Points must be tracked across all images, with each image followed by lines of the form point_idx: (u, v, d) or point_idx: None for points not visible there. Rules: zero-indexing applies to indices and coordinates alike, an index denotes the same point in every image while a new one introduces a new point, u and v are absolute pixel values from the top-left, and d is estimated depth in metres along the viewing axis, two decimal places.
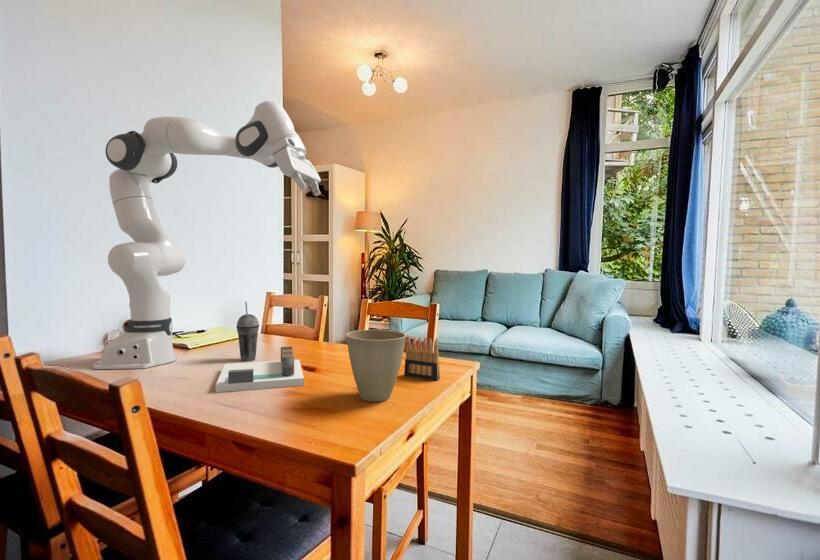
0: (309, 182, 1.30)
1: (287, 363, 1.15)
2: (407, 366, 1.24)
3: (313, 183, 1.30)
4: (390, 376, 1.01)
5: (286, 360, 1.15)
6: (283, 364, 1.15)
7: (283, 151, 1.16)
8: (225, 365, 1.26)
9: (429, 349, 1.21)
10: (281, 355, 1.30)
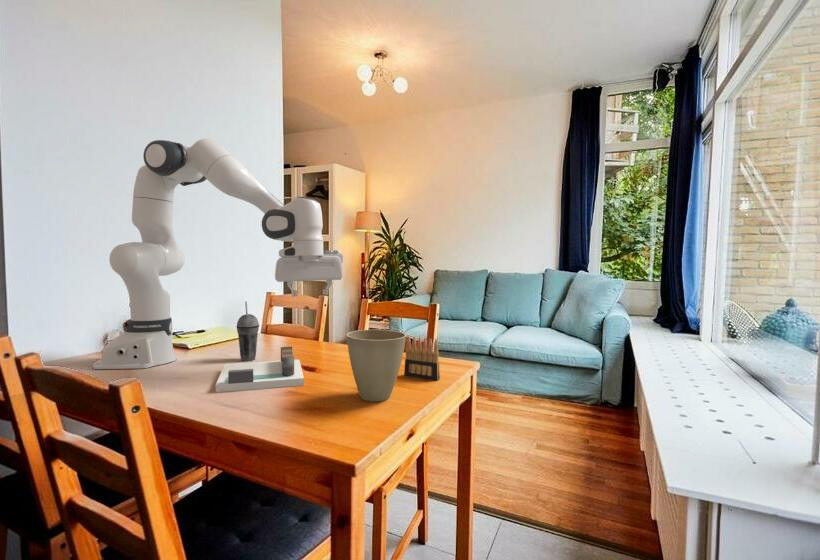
0: None
1: (287, 363, 1.15)
2: (407, 366, 1.24)
3: (326, 282, 1.30)
4: (390, 376, 1.01)
5: (286, 360, 1.15)
6: (283, 364, 1.15)
7: (277, 262, 1.24)
8: (225, 365, 1.26)
9: (429, 349, 1.21)
10: (281, 355, 1.30)
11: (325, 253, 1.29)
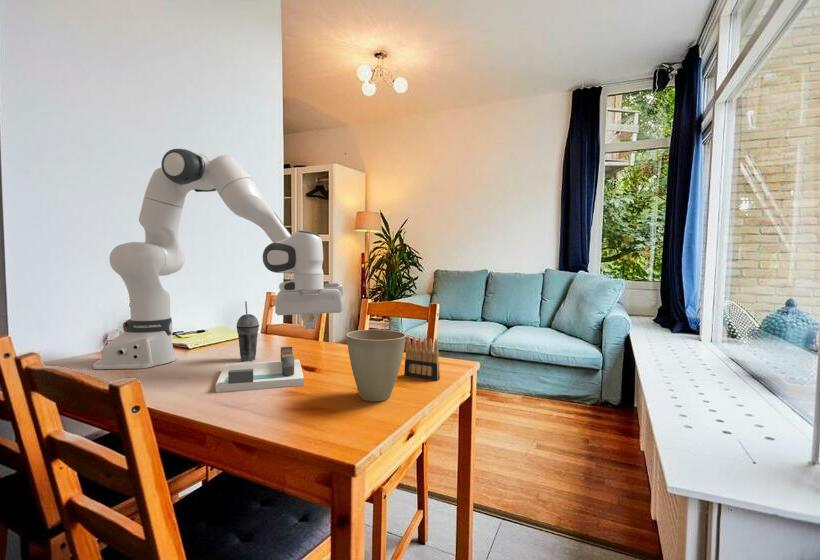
0: None
1: (287, 363, 1.15)
2: (407, 366, 1.24)
3: (313, 315, 1.29)
4: (390, 376, 1.01)
5: (286, 360, 1.15)
6: (283, 364, 1.15)
7: (277, 295, 1.25)
8: (225, 365, 1.26)
9: (429, 349, 1.21)
10: (281, 355, 1.30)
11: (325, 286, 1.30)
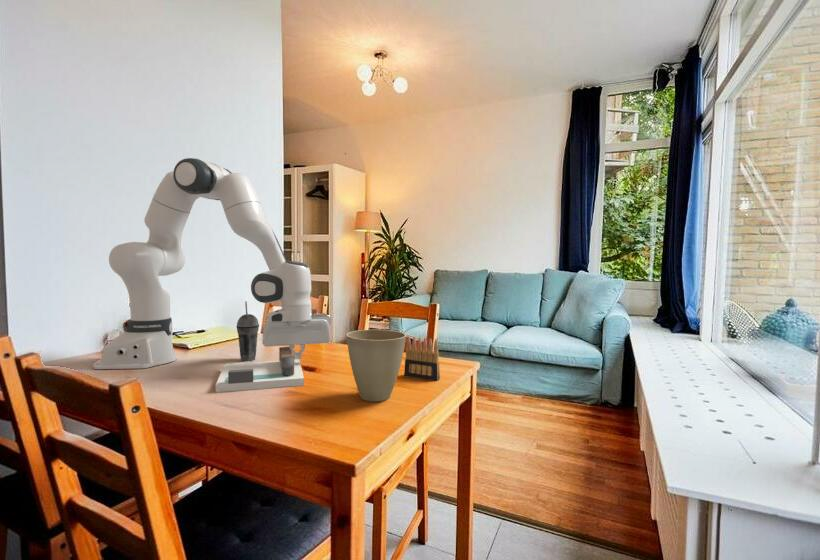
0: None
1: (287, 363, 1.15)
2: (407, 366, 1.24)
3: (300, 346, 1.29)
4: (390, 376, 1.01)
5: (286, 360, 1.15)
6: (283, 364, 1.15)
7: (264, 327, 1.24)
8: (225, 365, 1.26)
9: (429, 349, 1.21)
10: (280, 355, 1.30)
11: (313, 316, 1.30)
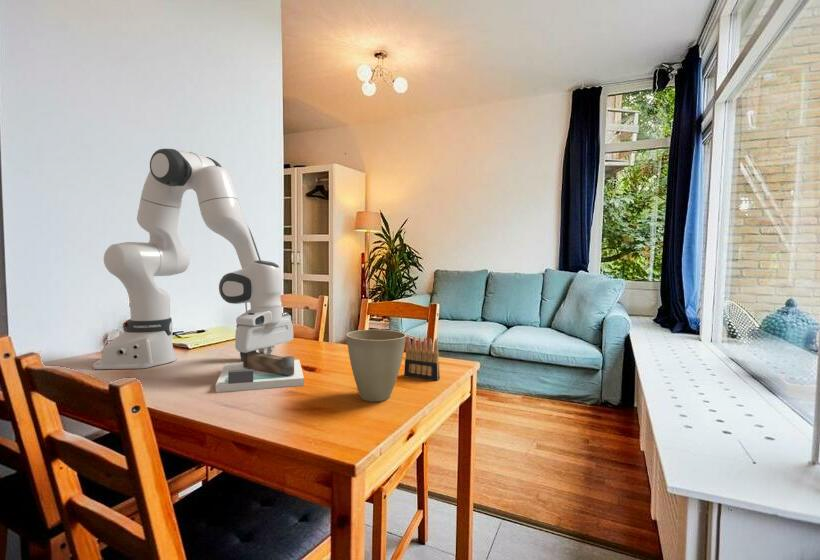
0: None
1: (291, 363, 1.15)
2: (407, 366, 1.24)
3: (269, 348, 1.25)
4: (390, 376, 1.01)
5: (290, 360, 1.15)
6: (287, 364, 1.15)
7: (244, 331, 1.15)
8: (225, 365, 1.26)
9: (429, 349, 1.21)
10: (246, 361, 1.23)
11: None
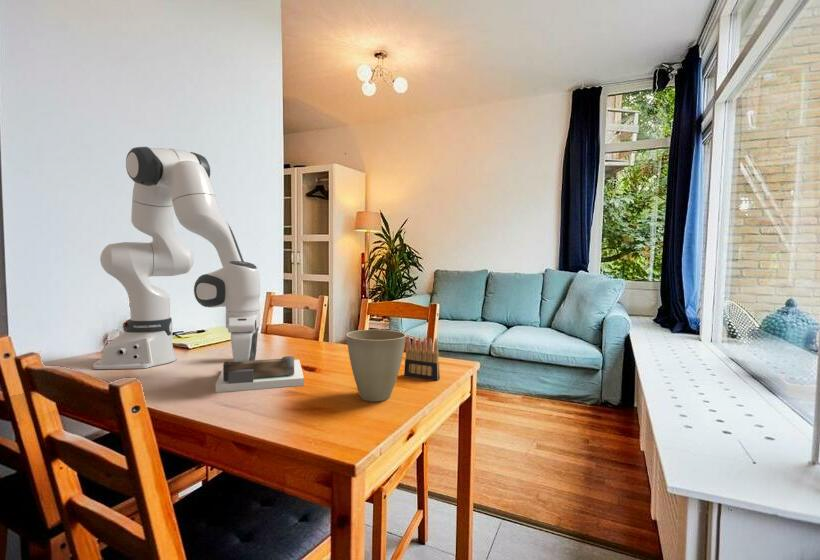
0: None
1: (293, 361, 1.17)
2: (407, 366, 1.24)
3: None
4: (390, 376, 1.01)
5: (293, 359, 1.16)
6: (291, 364, 1.15)
7: (246, 338, 1.06)
8: None
9: (429, 349, 1.21)
10: None
11: None
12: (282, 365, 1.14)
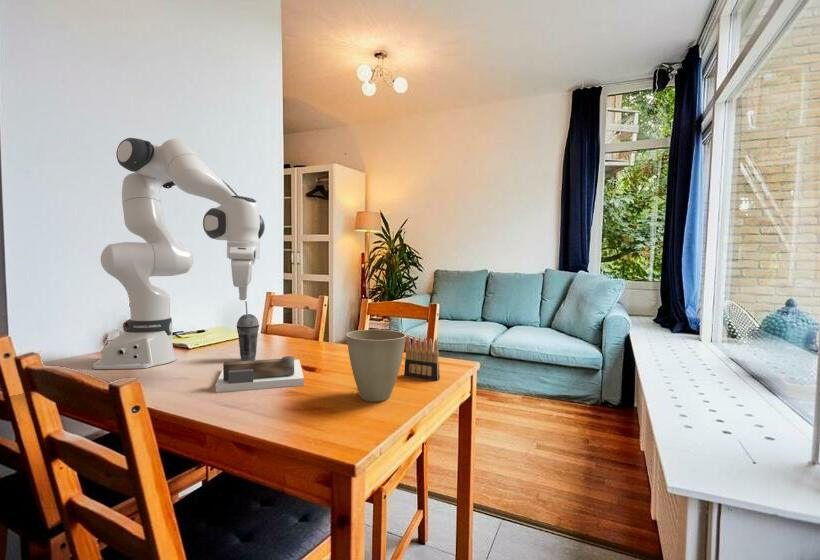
0: None
1: (293, 361, 1.17)
2: (407, 366, 1.24)
3: None
4: (390, 376, 1.01)
5: (293, 359, 1.16)
6: (291, 364, 1.15)
7: (245, 265, 1.13)
8: None
9: (429, 349, 1.21)
10: None
11: None
12: (282, 365, 1.14)
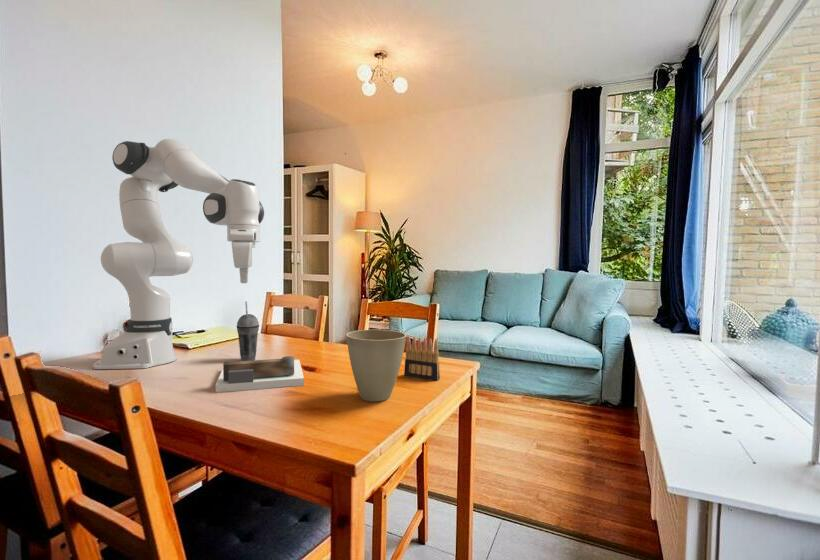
0: None
1: (293, 361, 1.17)
2: (407, 366, 1.24)
3: None
4: (390, 376, 1.01)
5: (293, 359, 1.16)
6: (291, 364, 1.15)
7: (246, 246, 1.14)
8: None
9: (429, 349, 1.21)
10: None
11: None
12: (282, 365, 1.14)
